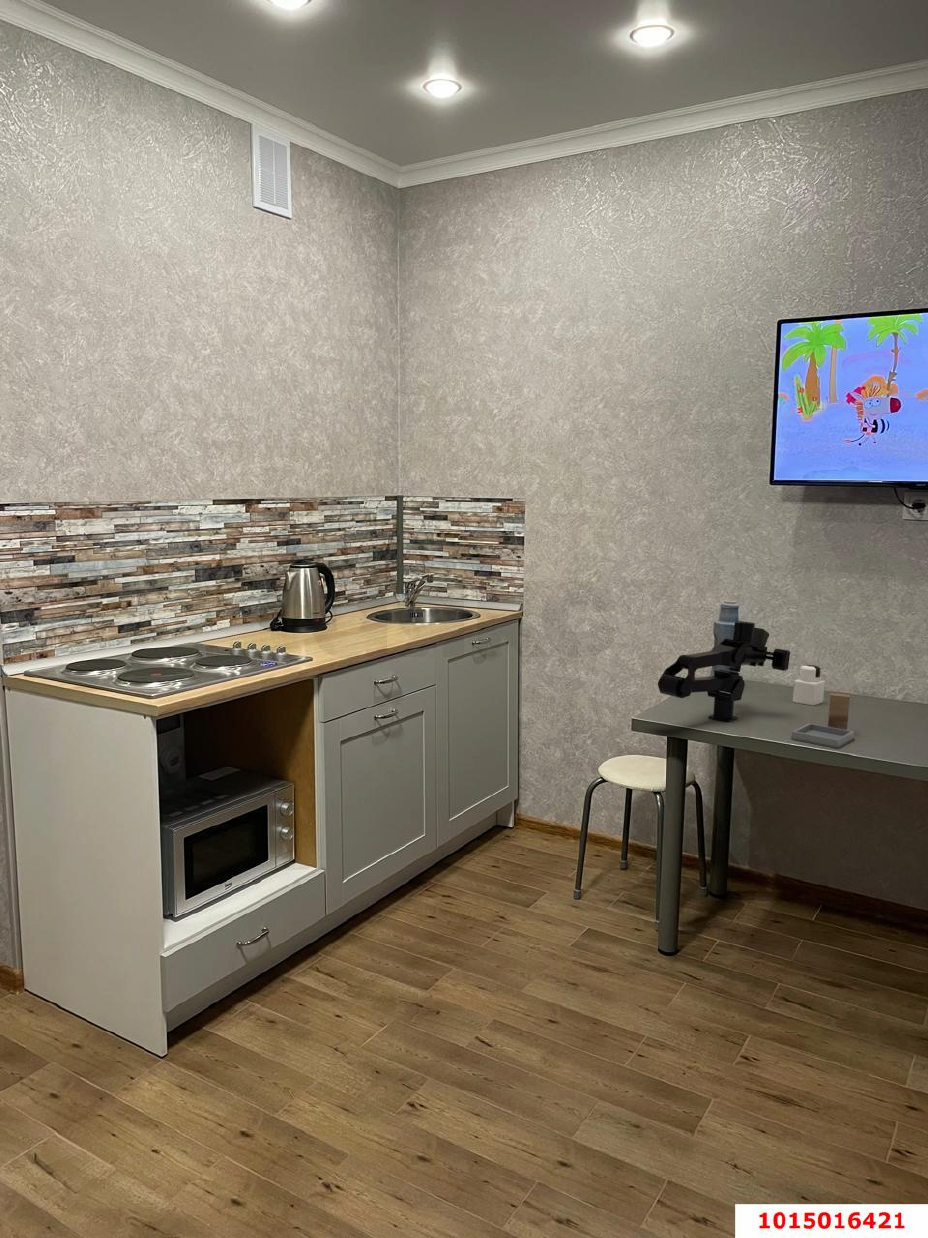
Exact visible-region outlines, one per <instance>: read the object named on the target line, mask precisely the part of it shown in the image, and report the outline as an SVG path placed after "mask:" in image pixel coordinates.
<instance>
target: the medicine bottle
mask: <svg viewBox="0 0 928 1238" xmlns="http://www.w3.org/2000/svg"><path fill="white" fill-rule="evenodd" d="M799 668H800V669H799V678H798V679H794V680H793V693H792V702H793V703H798V704H802V705H803V704H804V705H808V706H812V707H813V706H816V705H817V706H818V705H819V704H823V703H824V696H825V695H824V694H825V684H826V682H825V680H821V679H820V678H821V668H820V667H819V666H818V665H814V664H813V665H812V664H804V665H801V666H800V667H799Z"/></svg>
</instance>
